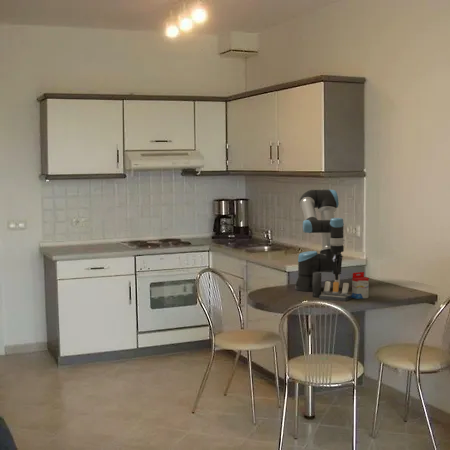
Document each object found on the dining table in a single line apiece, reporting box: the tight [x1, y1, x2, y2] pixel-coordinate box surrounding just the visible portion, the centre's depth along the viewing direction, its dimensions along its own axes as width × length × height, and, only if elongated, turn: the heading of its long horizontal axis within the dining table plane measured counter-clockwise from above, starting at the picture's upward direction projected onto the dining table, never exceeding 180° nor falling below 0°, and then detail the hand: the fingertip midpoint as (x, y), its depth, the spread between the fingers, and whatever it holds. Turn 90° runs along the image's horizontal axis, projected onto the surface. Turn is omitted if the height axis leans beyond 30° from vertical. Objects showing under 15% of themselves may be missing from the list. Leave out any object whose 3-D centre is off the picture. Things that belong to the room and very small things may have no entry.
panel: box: [318, 292, 353, 302], centre depth 412 cm, size 16×11×3 cm
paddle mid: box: [332, 281, 340, 294], centre depth 412 cm, size 3×2×7 cm, turn 61°
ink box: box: [351, 271, 370, 300], centre depth 414 cm, size 8×5×15 cm, turn 116°
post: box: [312, 272, 322, 299], centre depth 417 cm, size 5×5×14 cm
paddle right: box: [341, 282, 350, 295], centre depth 410 cm, size 3×2×7 cm, turn 61°
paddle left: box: [323, 281, 332, 293], centre depth 416 cm, size 3×2×7 cm, turn 61°
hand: (337, 285), depth 413 cm, fingers closed
